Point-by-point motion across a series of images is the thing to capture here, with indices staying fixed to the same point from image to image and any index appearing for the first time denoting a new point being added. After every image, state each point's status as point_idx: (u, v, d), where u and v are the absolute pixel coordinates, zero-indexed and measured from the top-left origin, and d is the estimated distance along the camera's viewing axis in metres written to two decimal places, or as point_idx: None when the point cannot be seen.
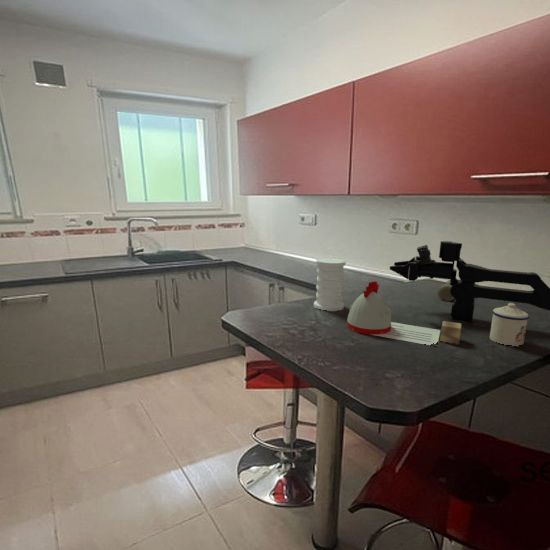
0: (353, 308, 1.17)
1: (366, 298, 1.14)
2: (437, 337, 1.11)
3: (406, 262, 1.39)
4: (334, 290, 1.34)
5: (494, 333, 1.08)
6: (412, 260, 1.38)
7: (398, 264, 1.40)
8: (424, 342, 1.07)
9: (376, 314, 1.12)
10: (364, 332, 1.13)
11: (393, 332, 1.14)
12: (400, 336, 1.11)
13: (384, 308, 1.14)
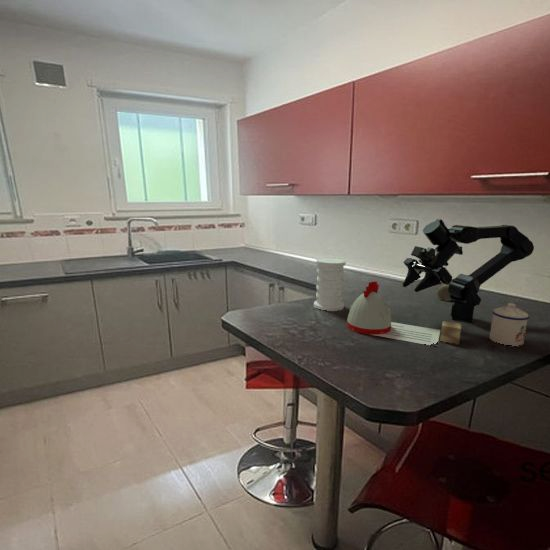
0: (353, 308, 1.17)
1: (366, 298, 1.14)
2: (437, 337, 1.11)
3: (410, 275, 1.23)
4: (334, 290, 1.34)
5: (494, 333, 1.08)
6: (412, 268, 1.23)
7: (406, 283, 1.23)
8: (424, 342, 1.07)
9: (376, 314, 1.12)
10: (364, 332, 1.13)
11: (393, 332, 1.14)
12: (400, 336, 1.11)
13: (384, 308, 1.14)
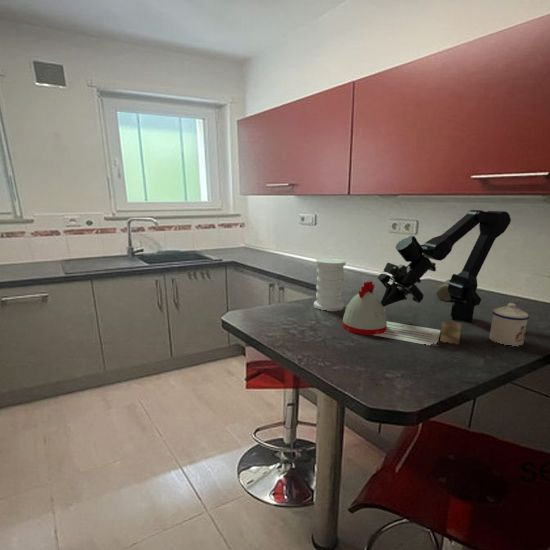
0: (348, 308, 1.16)
1: (361, 298, 1.14)
2: (437, 337, 1.11)
3: (388, 293, 1.19)
4: (334, 290, 1.34)
5: (494, 333, 1.08)
6: (390, 287, 1.19)
7: None
8: (424, 342, 1.07)
9: (371, 314, 1.12)
10: (359, 332, 1.13)
11: (393, 332, 1.14)
12: (400, 336, 1.11)
13: (379, 308, 1.13)
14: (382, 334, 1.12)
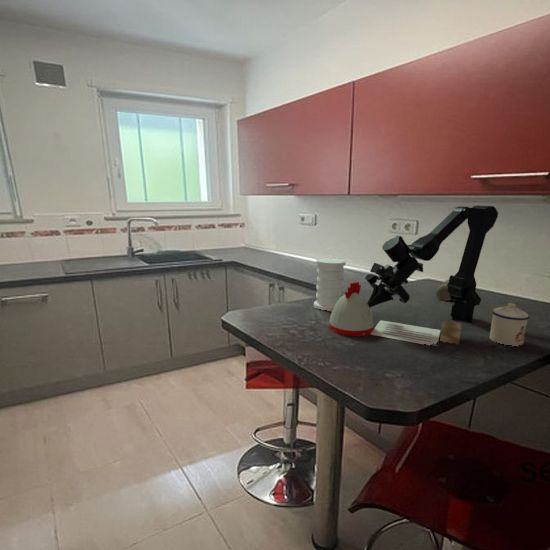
0: (335, 309, 1.15)
1: (348, 299, 1.13)
2: (437, 337, 1.11)
3: (375, 294, 1.18)
4: (334, 290, 1.34)
5: (494, 333, 1.08)
6: (377, 287, 1.18)
7: None
8: (424, 342, 1.07)
9: (358, 315, 1.11)
10: (346, 334, 1.11)
11: (393, 332, 1.14)
12: (400, 336, 1.11)
13: (365, 309, 1.12)
14: (382, 334, 1.12)
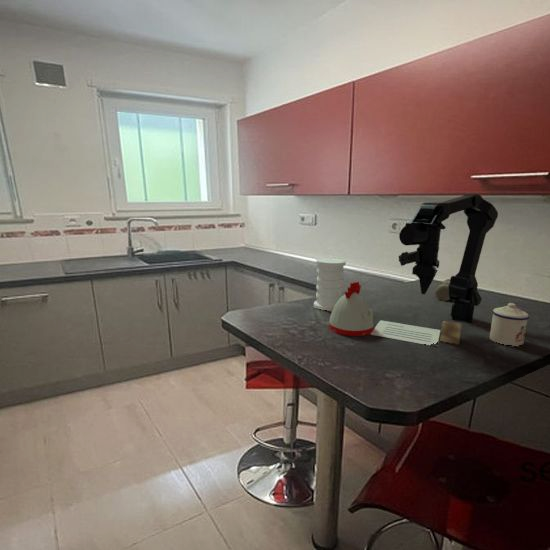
0: (335, 309, 1.15)
1: (348, 299, 1.13)
2: (437, 337, 1.11)
3: None
4: (334, 290, 1.34)
5: (494, 333, 1.08)
6: None
7: None
8: (424, 342, 1.07)
9: (358, 315, 1.11)
10: (346, 333, 1.11)
11: (393, 332, 1.14)
12: (400, 336, 1.11)
13: (365, 309, 1.12)
14: (382, 334, 1.12)
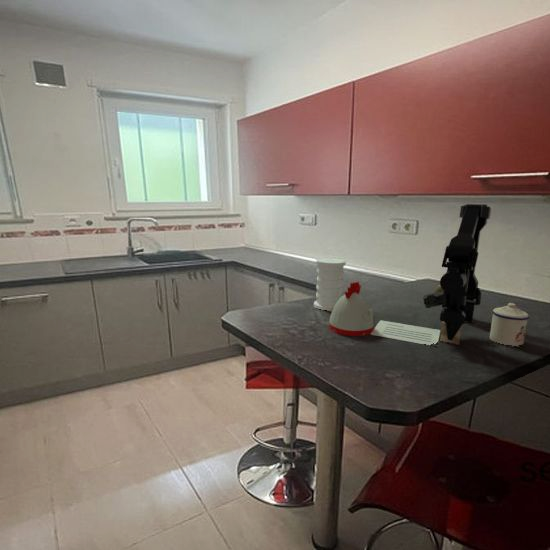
0: (335, 309, 1.15)
1: (348, 299, 1.13)
2: (437, 337, 1.11)
3: None
4: (334, 290, 1.34)
5: (494, 333, 1.08)
6: None
7: None
8: (424, 342, 1.07)
9: (358, 315, 1.11)
10: (346, 333, 1.11)
11: (393, 332, 1.14)
12: (400, 336, 1.11)
13: (365, 309, 1.12)
14: (382, 334, 1.12)
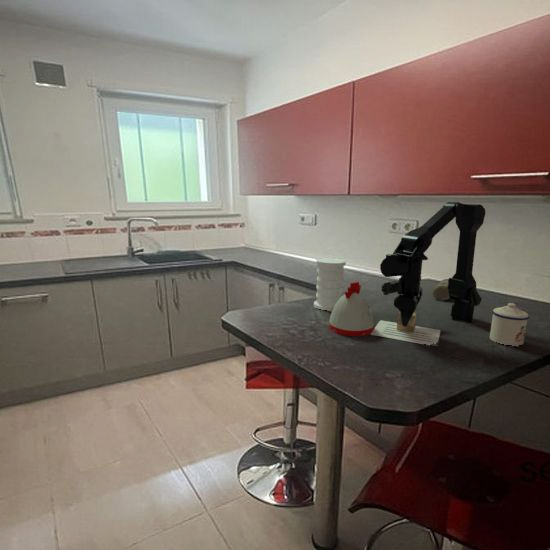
0: (335, 309, 1.15)
1: (348, 299, 1.13)
2: (437, 337, 1.11)
3: None
4: (334, 290, 1.34)
5: (494, 333, 1.08)
6: None
7: None
8: (424, 342, 1.07)
9: (358, 315, 1.11)
10: (346, 333, 1.11)
11: (393, 332, 1.14)
12: (400, 336, 1.11)
13: (365, 309, 1.12)
14: (382, 334, 1.12)
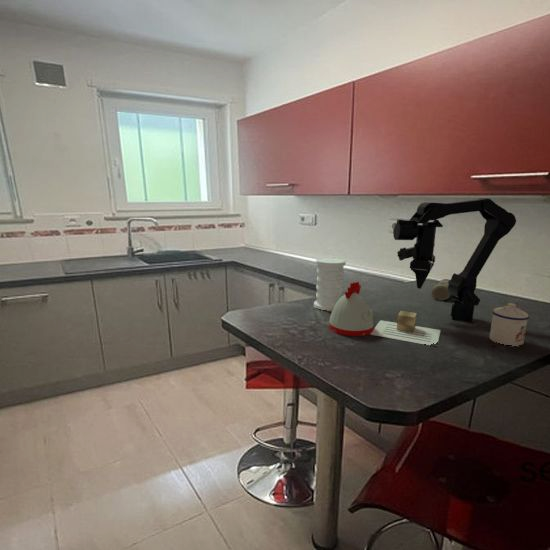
0: (335, 309, 1.15)
1: (348, 299, 1.13)
2: (437, 337, 1.11)
3: None
4: (334, 290, 1.34)
5: (494, 333, 1.08)
6: None
7: None
8: (424, 342, 1.07)
9: (358, 315, 1.11)
10: (346, 333, 1.11)
11: (393, 332, 1.14)
12: (400, 336, 1.11)
13: (365, 309, 1.12)
14: (382, 334, 1.12)
